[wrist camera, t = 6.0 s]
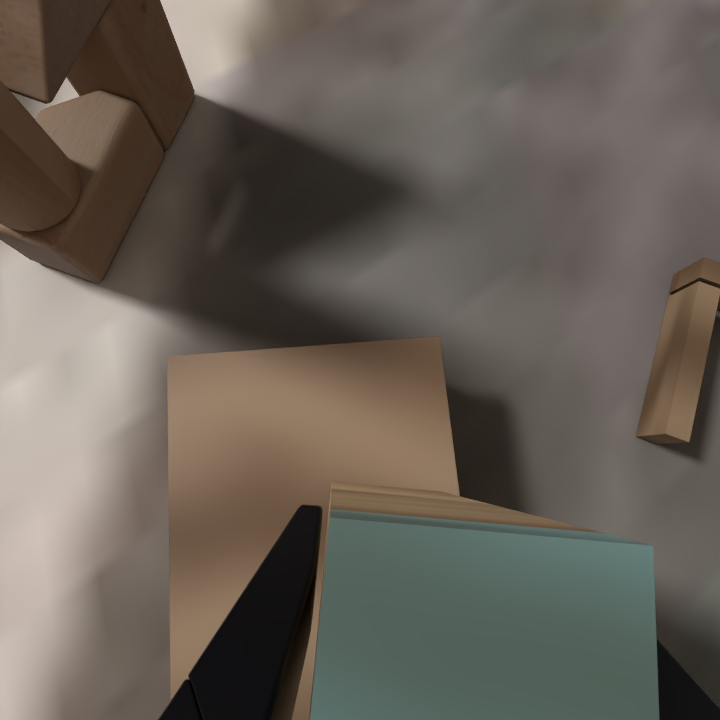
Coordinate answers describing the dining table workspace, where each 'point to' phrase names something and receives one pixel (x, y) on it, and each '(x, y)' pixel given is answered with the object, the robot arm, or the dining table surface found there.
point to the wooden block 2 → (84, 124)
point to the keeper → (681, 354)
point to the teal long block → (478, 614)
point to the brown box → (287, 462)
